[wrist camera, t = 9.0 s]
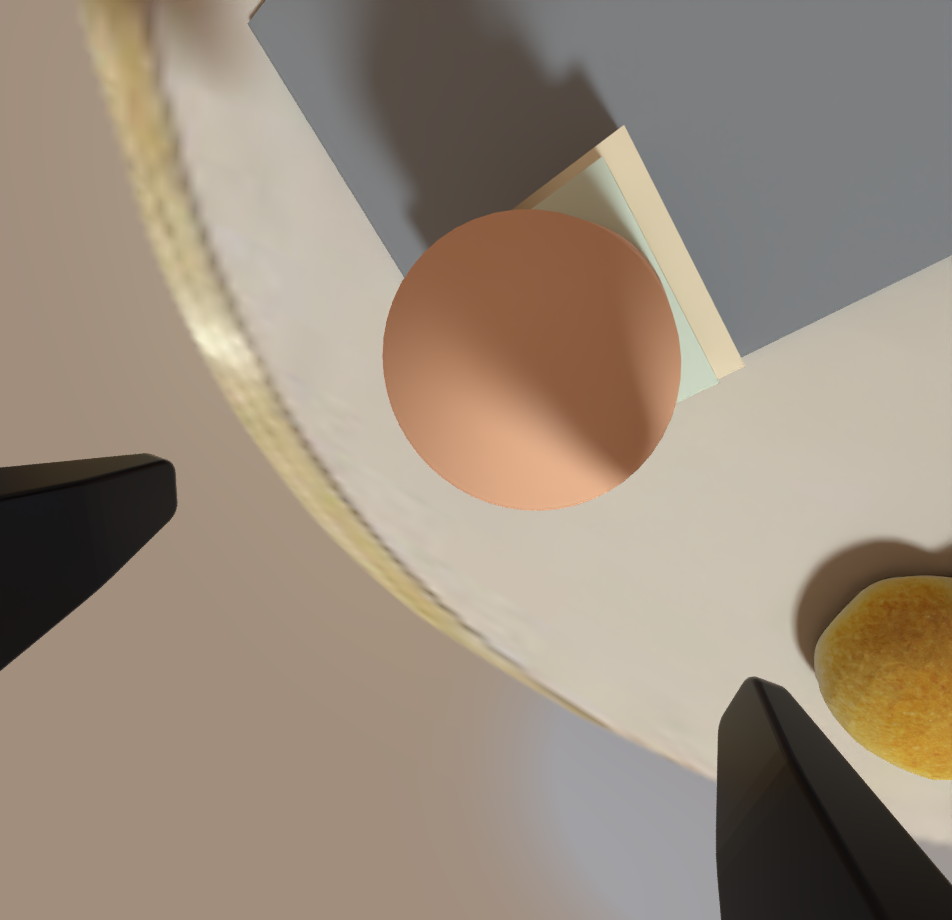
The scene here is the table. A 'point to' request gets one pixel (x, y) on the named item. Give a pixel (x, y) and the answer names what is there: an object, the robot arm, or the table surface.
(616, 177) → the tower base
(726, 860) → the robot arm
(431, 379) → the peach gumdrop
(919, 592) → the bread roll
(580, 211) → the tower top
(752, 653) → the table surface
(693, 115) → the mat
